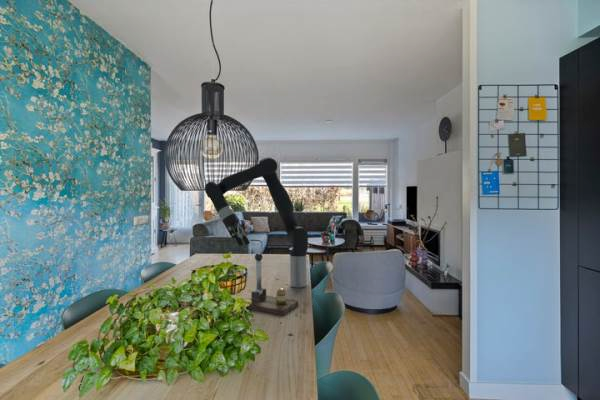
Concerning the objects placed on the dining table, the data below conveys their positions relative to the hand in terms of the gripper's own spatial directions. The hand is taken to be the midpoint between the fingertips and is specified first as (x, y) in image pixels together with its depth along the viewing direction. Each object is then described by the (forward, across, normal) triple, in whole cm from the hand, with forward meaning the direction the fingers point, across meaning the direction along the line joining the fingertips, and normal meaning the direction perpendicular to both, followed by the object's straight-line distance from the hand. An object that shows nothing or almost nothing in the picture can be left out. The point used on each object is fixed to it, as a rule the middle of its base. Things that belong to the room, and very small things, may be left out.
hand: (245, 244), depth 153 cm
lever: (+24, -4, +6) cm, 25 cm away
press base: (+31, -5, +3) cm, 32 cm away
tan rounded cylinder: (+33, -7, -3) cm, 33 cm away
